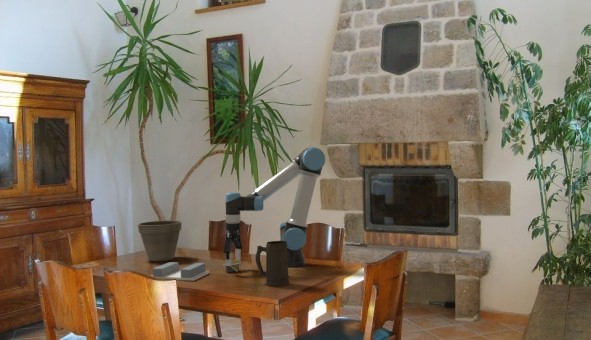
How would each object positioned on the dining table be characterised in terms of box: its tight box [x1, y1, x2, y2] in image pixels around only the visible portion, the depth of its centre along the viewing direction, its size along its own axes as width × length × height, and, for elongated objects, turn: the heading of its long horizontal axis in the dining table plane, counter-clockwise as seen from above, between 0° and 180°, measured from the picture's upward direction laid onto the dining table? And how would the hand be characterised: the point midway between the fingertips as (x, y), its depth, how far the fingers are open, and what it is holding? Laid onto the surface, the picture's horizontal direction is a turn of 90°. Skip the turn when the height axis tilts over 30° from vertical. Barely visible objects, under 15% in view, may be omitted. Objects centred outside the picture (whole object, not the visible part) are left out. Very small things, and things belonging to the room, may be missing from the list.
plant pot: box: [137, 219, 182, 262], centre depth 365 cm, size 25×25×22 cm
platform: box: [222, 259, 242, 273], centre depth 322 cm, size 12×18×7 cm, turn 127°
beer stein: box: [255, 240, 290, 287], centre depth 289 cm, size 15×11×20 cm
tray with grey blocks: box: [151, 261, 210, 282], centre depth 313 cm, size 24×18×5 cm
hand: (233, 263), depth 322 cm, fingers open, 13 cm apart
